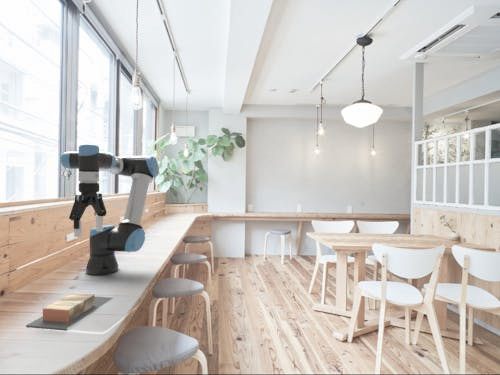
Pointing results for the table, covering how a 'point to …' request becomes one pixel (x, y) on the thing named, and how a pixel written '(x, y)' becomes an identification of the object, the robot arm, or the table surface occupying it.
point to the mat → (63, 325)
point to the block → (68, 307)
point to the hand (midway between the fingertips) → (89, 234)
